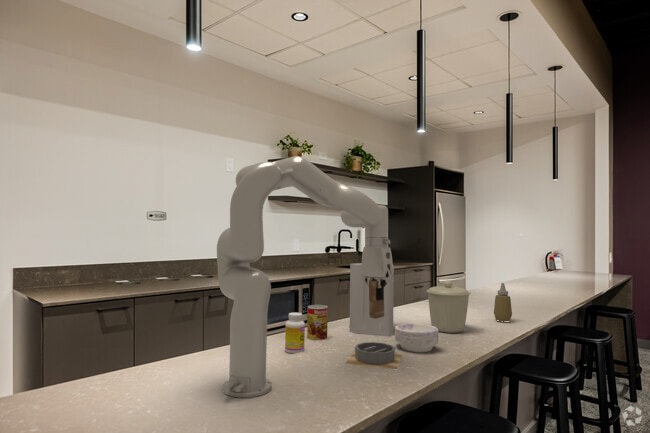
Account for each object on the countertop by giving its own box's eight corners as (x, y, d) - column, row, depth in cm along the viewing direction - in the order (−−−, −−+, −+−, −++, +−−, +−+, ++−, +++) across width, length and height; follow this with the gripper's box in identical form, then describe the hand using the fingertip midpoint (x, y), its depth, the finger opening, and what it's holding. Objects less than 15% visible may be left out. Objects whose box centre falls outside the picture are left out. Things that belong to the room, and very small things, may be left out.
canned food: (318, 341, 158) (319, 309, 158) (302, 337, 163) (303, 306, 163) (331, 337, 164) (331, 306, 165) (315, 334, 169) (316, 304, 169)
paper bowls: (405, 341, 160) (405, 320, 160) (444, 348, 151) (444, 326, 151) (387, 350, 147) (387, 327, 148) (428, 358, 139) (428, 334, 139)
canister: (479, 332, 176) (479, 281, 177) (451, 337, 166) (451, 284, 167) (445, 323, 191) (445, 277, 192) (417, 328, 181) (417, 279, 182)
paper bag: (374, 339, 162) (375, 266, 163) (348, 331, 174) (349, 263, 175) (406, 332, 174) (407, 264, 175) (380, 325, 186) (381, 262, 187)
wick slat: (384, 316, 138) (383, 279, 138) (375, 318, 135) (374, 281, 135) (378, 315, 139) (377, 279, 139) (369, 317, 136) (368, 280, 136)
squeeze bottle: (491, 319, 202) (491, 281, 203) (509, 320, 201) (509, 282, 202) (496, 323, 194) (496, 284, 195) (514, 323, 193) (514, 284, 194)
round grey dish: (402, 358, 136) (402, 348, 136) (377, 367, 127) (378, 355, 127) (372, 350, 145) (372, 340, 145) (347, 357, 136) (347, 346, 136)
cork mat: (397, 370, 126) (397, 368, 126) (345, 365, 131) (345, 363, 131) (402, 355, 142) (402, 353, 142) (355, 351, 146) (355, 349, 146)
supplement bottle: (301, 354, 141) (302, 316, 141) (282, 353, 142) (283, 315, 143) (306, 349, 147) (306, 312, 148) (288, 347, 149) (288, 311, 149)
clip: (387, 356, 136) (387, 348, 136) (375, 360, 132) (375, 352, 132) (374, 353, 140) (374, 345, 140) (362, 356, 136) (362, 349, 136)
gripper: (403, 243, 134) (403, 301, 134) (365, 241, 146) (365, 295, 145) (389, 244, 129) (388, 304, 129) (350, 242, 140) (350, 297, 140)
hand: (376, 298), depth 137 cm, fingers closed on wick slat, 2 cm apart
